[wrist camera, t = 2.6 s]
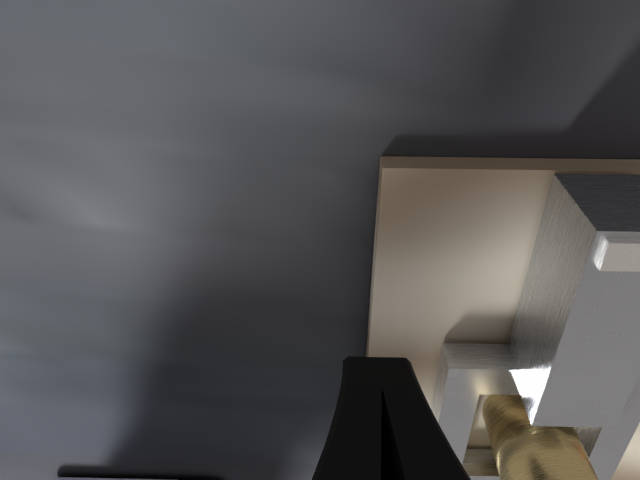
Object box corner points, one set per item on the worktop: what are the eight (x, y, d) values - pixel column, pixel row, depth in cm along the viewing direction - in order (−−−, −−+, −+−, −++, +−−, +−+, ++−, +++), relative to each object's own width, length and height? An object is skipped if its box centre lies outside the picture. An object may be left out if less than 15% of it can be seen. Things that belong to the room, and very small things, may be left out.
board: (701, 498, 25) (711, 515, 25) (355, 491, 25) (356, 507, 25) (929, 163, 16) (956, 175, 15) (380, 156, 16) (382, 168, 15)
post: (551, 433, 22) (591, 534, 18) (475, 432, 22) (501, 532, 18) (571, 381, 20) (619, 481, 17) (489, 379, 20) (520, 479, 17)
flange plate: (590, 469, 23) (624, 548, 20) (420, 465, 23) (432, 544, 20) (725, 175, 15) (809, 238, 12) (472, 172, 15) (502, 234, 13)
